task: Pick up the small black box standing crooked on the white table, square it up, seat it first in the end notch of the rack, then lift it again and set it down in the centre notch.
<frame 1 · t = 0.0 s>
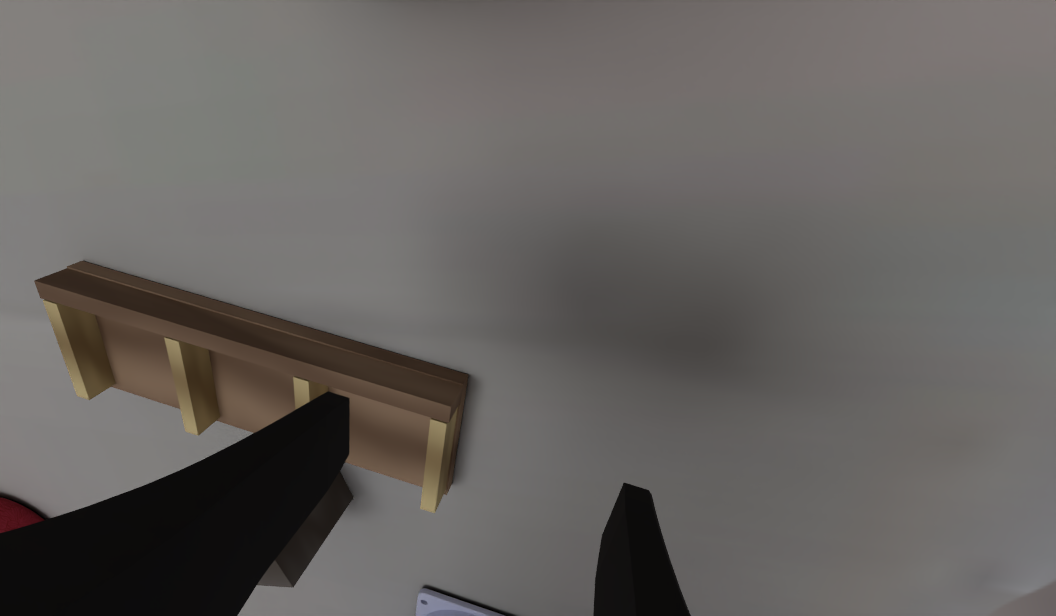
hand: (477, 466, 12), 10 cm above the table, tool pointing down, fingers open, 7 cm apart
rack: (272, 375, 27), on the table
wine bottle: (30, 527, 43), on the table
black box: (311, 477, 31), on the table
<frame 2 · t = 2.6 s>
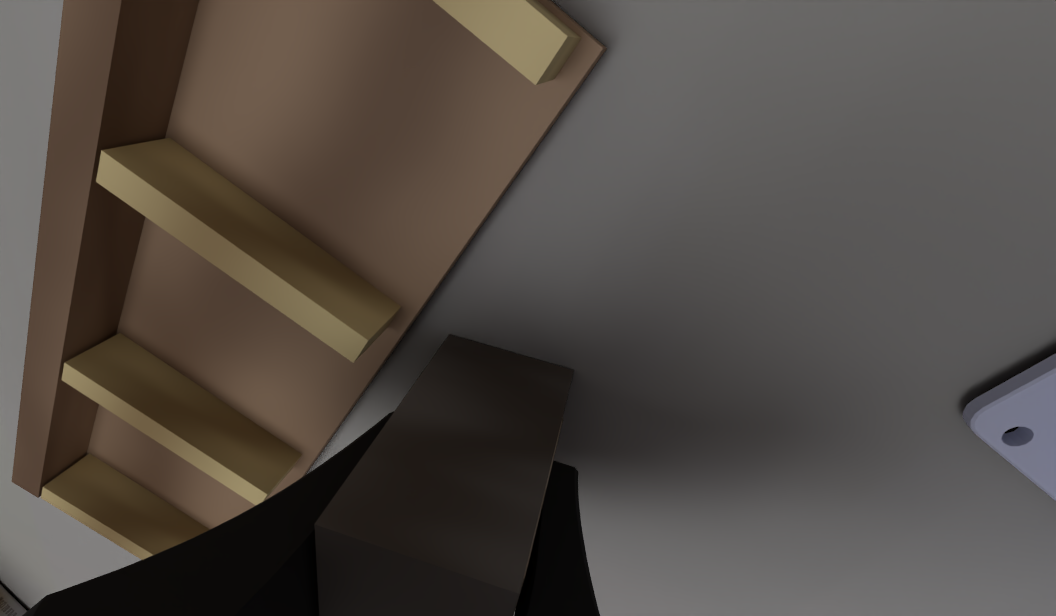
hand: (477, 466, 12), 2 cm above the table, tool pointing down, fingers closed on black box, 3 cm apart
rack: (250, 308, 14), on the table
black box: (497, 419, 14), on the table, touching gripper
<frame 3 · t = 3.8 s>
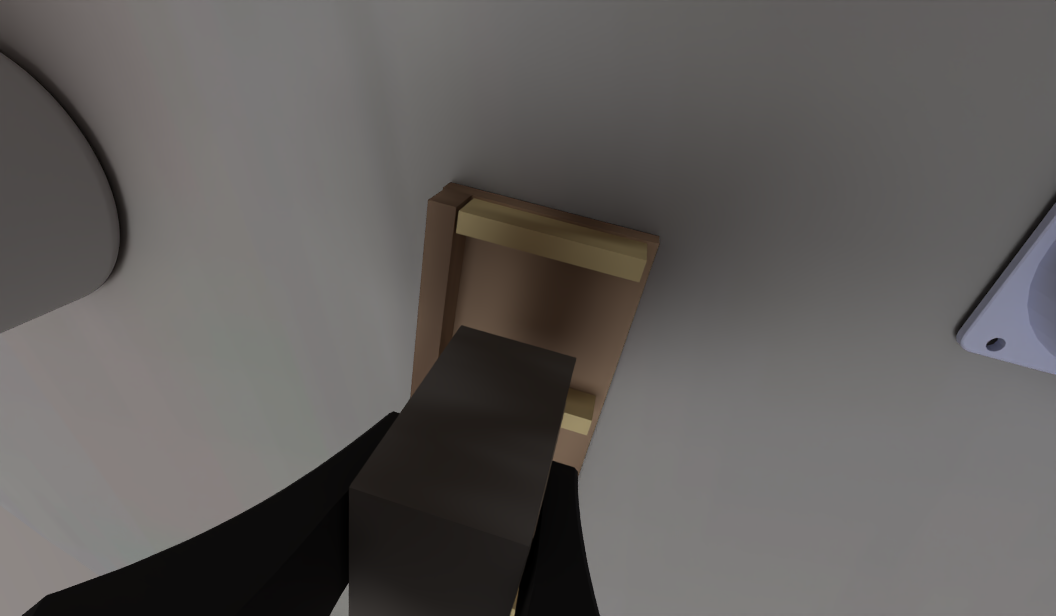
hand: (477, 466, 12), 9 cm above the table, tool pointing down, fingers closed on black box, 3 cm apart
rack: (504, 425, 24), on the table
black box: (504, 405, 15), point 6 cm above the table, touching gripper
cylinder vase: (16, 173, 23), on the table
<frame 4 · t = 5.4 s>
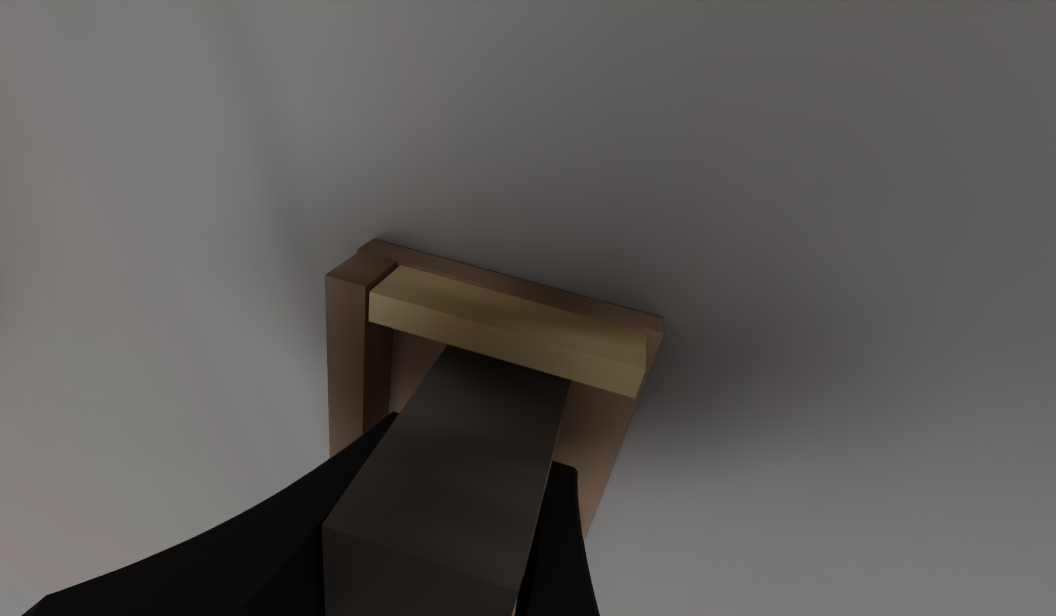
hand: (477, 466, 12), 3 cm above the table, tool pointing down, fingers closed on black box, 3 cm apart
rack: (464, 536, 18), on the table
black box: (497, 422, 14), point 1 cm above the table, touching gripper, rack
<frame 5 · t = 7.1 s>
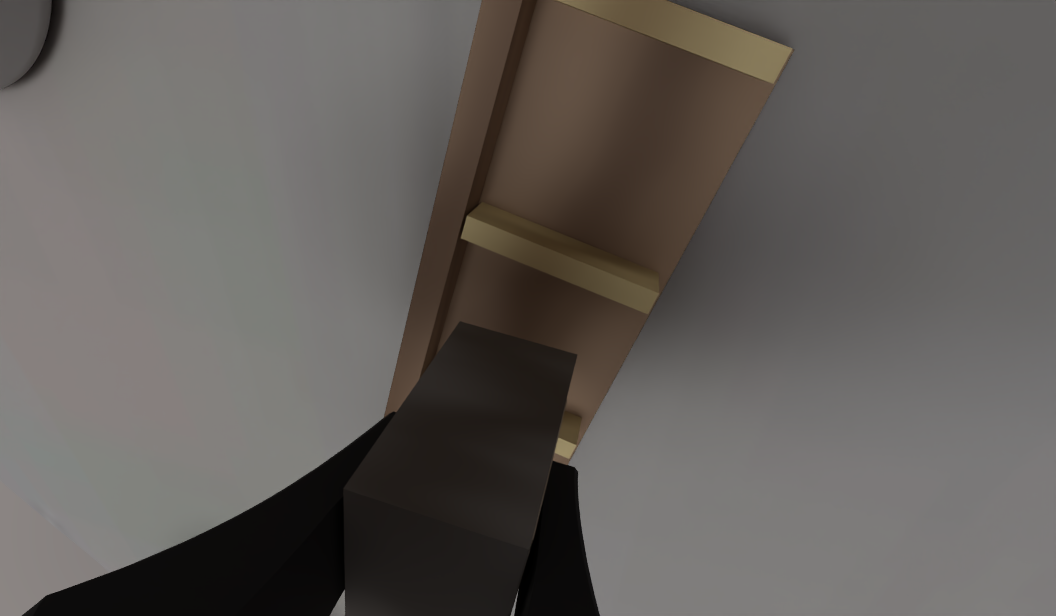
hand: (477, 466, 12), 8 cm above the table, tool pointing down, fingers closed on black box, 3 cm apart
rack: (528, 314, 19), on the table
black box: (504, 402, 15), point 5 cm above the table, touching gripper
when the fingers open (3 cm above the table, at t = 8.2 s): black box stays where it is, resting on rack.
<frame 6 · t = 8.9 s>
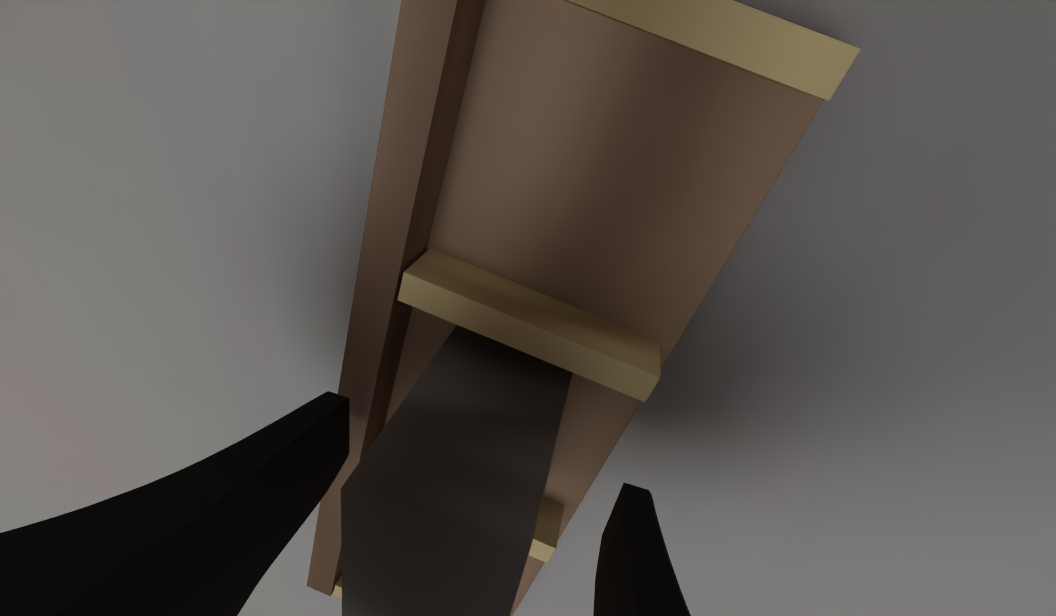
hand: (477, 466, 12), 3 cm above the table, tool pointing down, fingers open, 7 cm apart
rack: (496, 380, 15), on the table
black box: (503, 404, 15), point 1 cm above the table, touching rack
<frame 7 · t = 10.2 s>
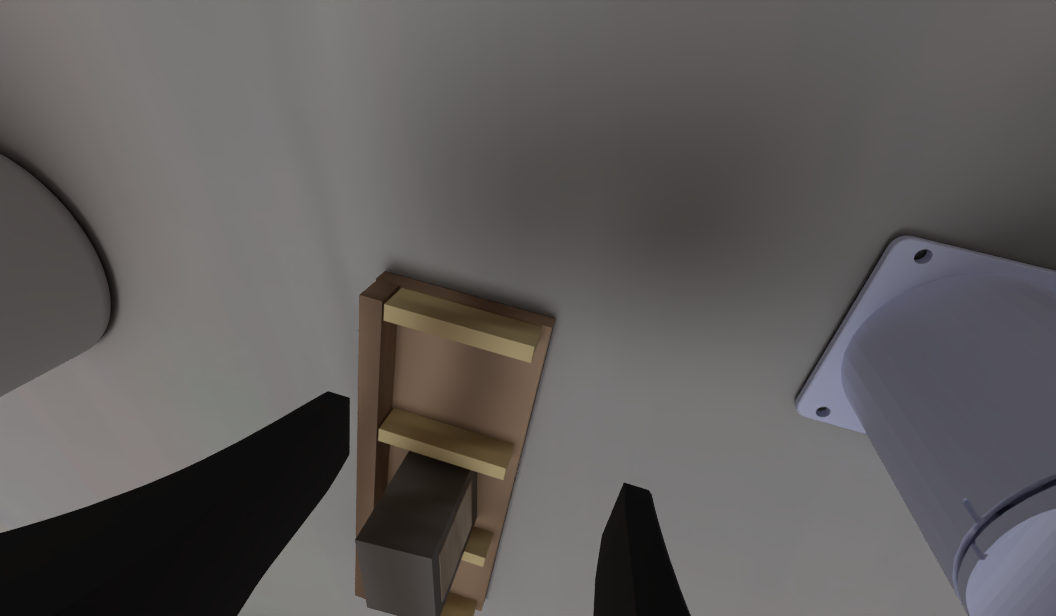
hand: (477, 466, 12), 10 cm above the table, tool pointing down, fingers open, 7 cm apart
rack: (444, 465, 27), on the table
black box: (447, 480, 27), point 1 cm above the table, touching rack
cylinder vase: (21, 249, 27), on the table
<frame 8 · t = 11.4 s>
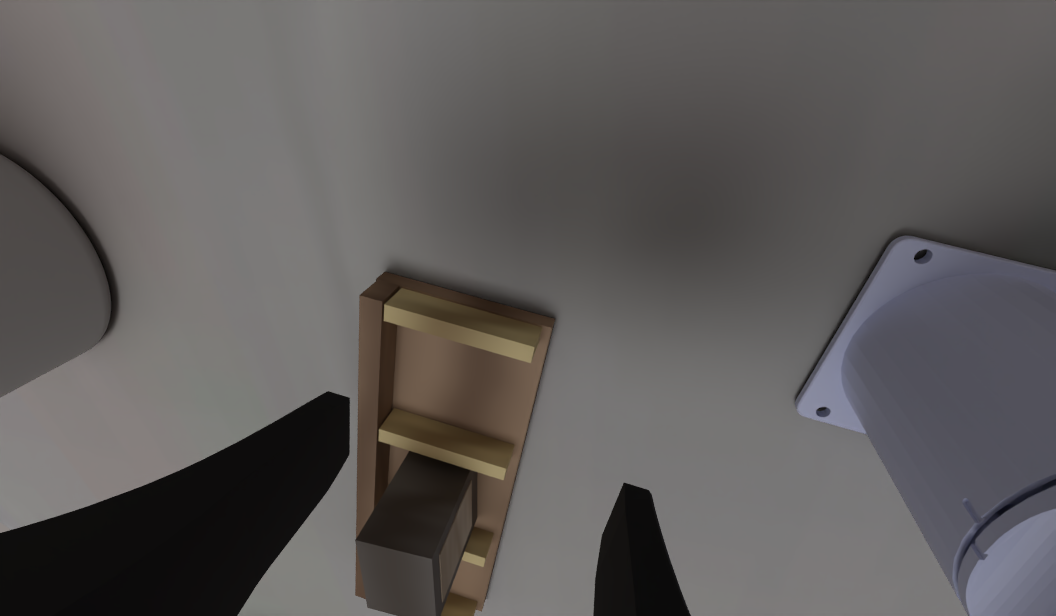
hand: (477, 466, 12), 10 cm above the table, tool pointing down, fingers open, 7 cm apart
rack: (444, 465, 27), on the table
black box: (447, 480, 27), point 1 cm above the table, touching rack
cylinder vase: (21, 250, 27), on the table
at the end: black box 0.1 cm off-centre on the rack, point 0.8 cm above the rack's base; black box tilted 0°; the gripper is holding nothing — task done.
